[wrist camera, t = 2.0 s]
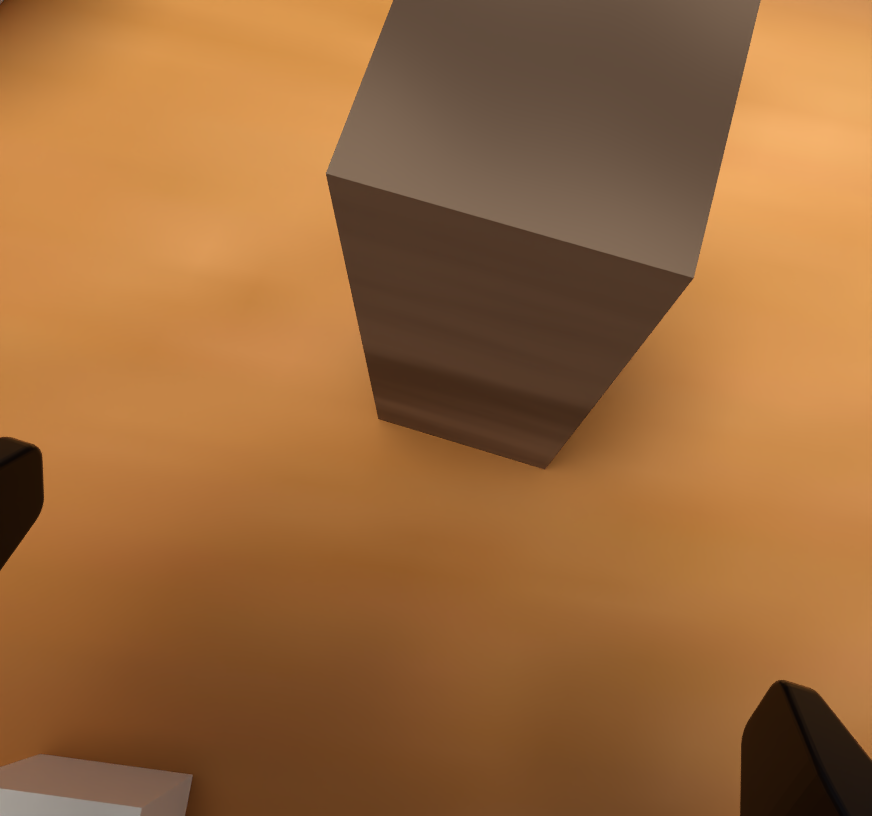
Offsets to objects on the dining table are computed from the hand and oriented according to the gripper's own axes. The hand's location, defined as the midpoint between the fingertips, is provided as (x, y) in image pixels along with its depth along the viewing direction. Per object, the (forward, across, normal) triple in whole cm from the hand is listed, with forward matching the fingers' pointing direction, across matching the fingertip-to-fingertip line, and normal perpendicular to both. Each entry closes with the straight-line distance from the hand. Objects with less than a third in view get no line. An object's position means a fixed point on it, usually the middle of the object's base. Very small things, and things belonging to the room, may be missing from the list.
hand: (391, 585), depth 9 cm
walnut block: (+14, 0, +4) cm, 15 cm away
